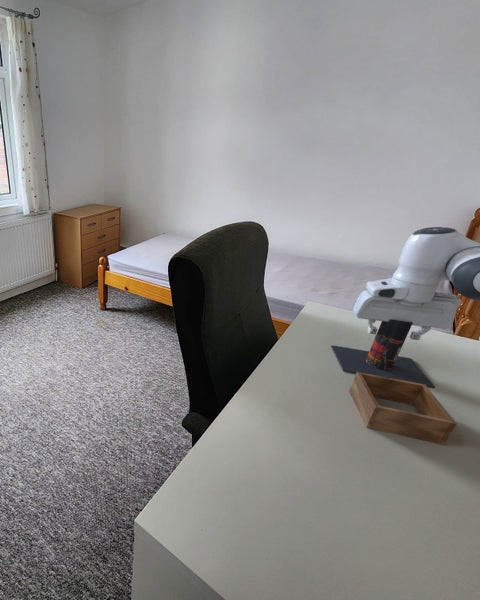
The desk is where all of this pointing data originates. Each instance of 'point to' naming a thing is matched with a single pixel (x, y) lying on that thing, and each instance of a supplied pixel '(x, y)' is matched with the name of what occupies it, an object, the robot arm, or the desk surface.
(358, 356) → the desk mat
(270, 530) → the desk surface
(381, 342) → the deodorant
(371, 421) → the wooden box
